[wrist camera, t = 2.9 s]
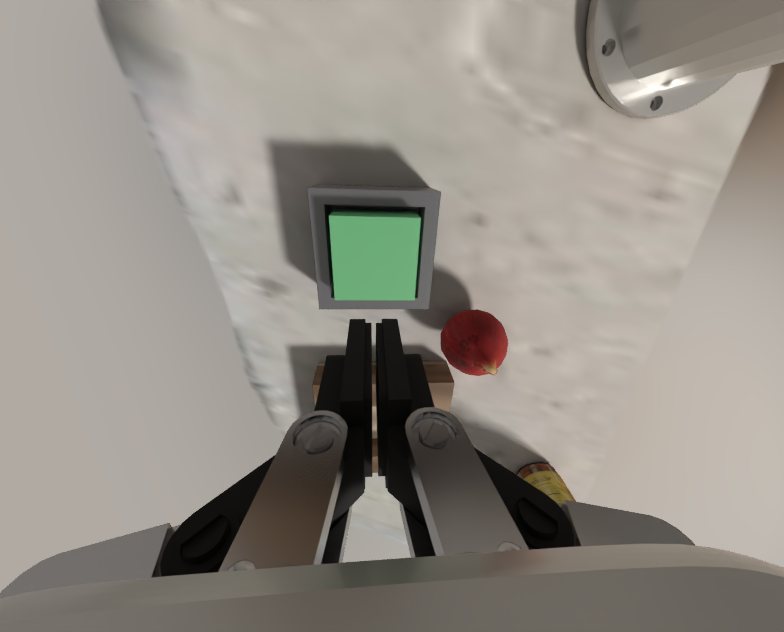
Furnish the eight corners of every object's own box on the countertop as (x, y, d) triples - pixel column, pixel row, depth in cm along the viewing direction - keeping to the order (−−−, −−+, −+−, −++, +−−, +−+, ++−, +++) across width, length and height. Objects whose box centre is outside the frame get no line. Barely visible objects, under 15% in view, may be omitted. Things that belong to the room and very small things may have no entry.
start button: (334, 209, 21) (328, 215, 18) (414, 211, 21) (420, 217, 19) (338, 285, 24) (334, 300, 21) (409, 285, 24) (414, 300, 21)
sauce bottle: (548, 484, 44) (665, 693, 27) (509, 486, 44) (601, 701, 26) (559, 457, 41) (700, 674, 23) (517, 459, 41) (628, 682, 23)
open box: (318, 363, 30) (312, 385, 27) (446, 361, 31) (454, 382, 28) (328, 448, 37) (324, 474, 34) (433, 445, 38) (439, 469, 35)
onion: (434, 348, 30) (453, 403, 23) (433, 299, 28) (454, 345, 21) (487, 341, 30) (522, 395, 23) (491, 293, 28) (532, 336, 21)
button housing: (317, 184, 22) (307, 187, 19) (430, 187, 23) (440, 191, 19) (326, 289, 26) (319, 309, 23) (421, 290, 27) (428, 309, 24)
